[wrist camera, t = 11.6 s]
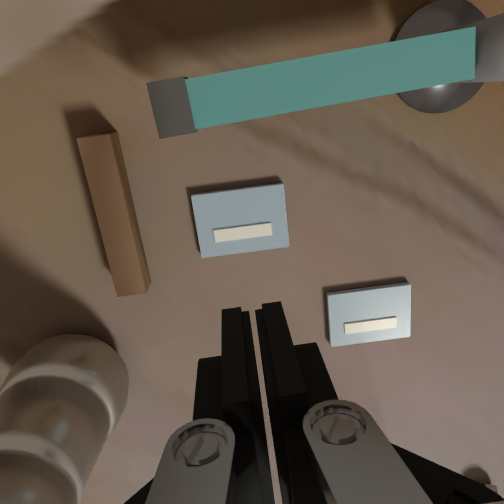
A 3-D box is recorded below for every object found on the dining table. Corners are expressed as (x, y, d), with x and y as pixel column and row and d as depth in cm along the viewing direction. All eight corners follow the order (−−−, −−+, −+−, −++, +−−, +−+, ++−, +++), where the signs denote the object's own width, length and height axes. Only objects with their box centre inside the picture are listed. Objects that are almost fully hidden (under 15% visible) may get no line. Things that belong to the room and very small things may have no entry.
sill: (117, 131, 22) (109, 134, 20) (150, 281, 25) (146, 292, 23) (86, 135, 22) (76, 138, 20) (123, 285, 25) (117, 296, 23)
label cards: (409, 165, 23) (413, 167, 23) (407, 333, 27) (410, 337, 26) (191, 194, 23) (190, 196, 23) (219, 358, 27) (219, 362, 26)
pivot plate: (495, -7, 20) (498, -8, 20) (487, 106, 22) (489, 106, 22) (389, 6, 20) (390, 5, 20) (389, 118, 22) (390, 119, 22)
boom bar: (469, 26, 20) (555, 2, 15) (469, 79, 21) (550, 74, 16) (165, 81, 20) (143, 77, 15) (177, 132, 21) (160, 144, 16)
